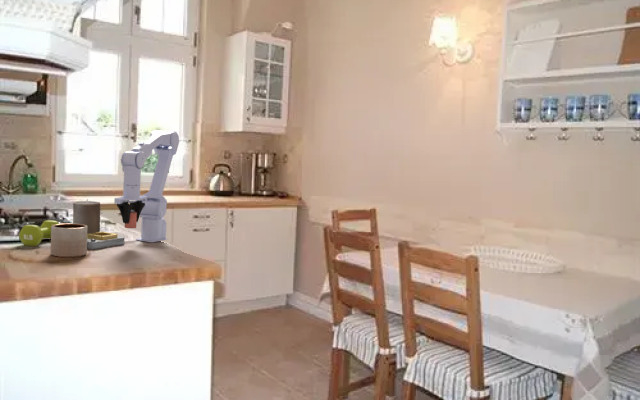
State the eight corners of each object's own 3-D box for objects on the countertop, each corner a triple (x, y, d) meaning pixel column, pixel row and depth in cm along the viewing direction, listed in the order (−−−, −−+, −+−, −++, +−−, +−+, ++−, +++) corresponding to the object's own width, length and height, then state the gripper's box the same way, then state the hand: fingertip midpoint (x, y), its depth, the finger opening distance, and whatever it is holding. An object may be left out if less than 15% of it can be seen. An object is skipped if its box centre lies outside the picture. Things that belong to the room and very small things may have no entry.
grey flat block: (101, 240, 208) (102, 230, 207) (124, 244, 203) (124, 234, 203) (62, 246, 191) (62, 236, 191) (85, 250, 187) (86, 240, 187)
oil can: (130, 226, 201) (130, 209, 200) (138, 227, 199) (139, 210, 199) (122, 227, 197) (122, 210, 197) (130, 228, 196) (131, 211, 195)
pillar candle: (103, 236, 215) (104, 198, 214) (94, 240, 206) (95, 200, 204) (78, 235, 215) (78, 197, 213) (68, 239, 205) (68, 199, 204)
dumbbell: (43, 238, 205) (43, 219, 204) (63, 239, 204) (64, 220, 204) (16, 245, 188) (16, 225, 188) (38, 247, 188) (39, 226, 187)
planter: (93, 253, 185) (93, 224, 184) (75, 259, 174) (76, 229, 173) (62, 250, 186) (63, 222, 185) (43, 256, 175) (43, 226, 174)
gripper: (137, 183, 205) (135, 219, 206) (108, 184, 192) (106, 223, 193) (152, 185, 202) (150, 221, 204) (123, 186, 189) (122, 225, 190)
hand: (130, 222), depth 198 cm, fingers closed on oil can, 4 cm apart
